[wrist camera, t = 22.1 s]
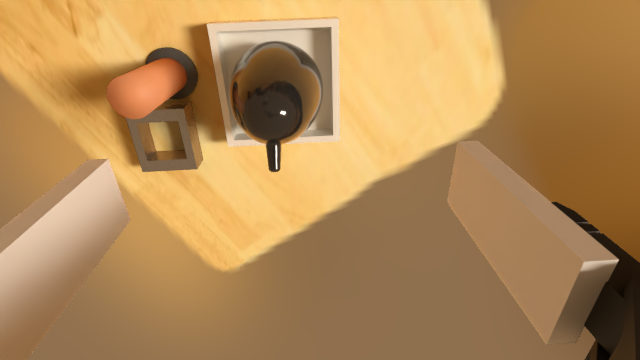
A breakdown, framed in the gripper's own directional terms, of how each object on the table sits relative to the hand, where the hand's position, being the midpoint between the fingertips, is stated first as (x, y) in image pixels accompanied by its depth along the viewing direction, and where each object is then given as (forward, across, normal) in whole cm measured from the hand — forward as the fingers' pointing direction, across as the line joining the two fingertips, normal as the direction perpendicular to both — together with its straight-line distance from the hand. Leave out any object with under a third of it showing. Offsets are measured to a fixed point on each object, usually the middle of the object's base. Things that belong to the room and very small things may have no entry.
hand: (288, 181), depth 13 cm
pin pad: (+32, -15, -2) cm, 35 cm away
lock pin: (+31, -15, -2) cm, 35 cm away
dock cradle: (+32, -2, -3) cm, 32 cm away
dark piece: (+31, -2, -3) cm, 31 cm away
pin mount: (+32, -17, -9) cm, 37 cm away
